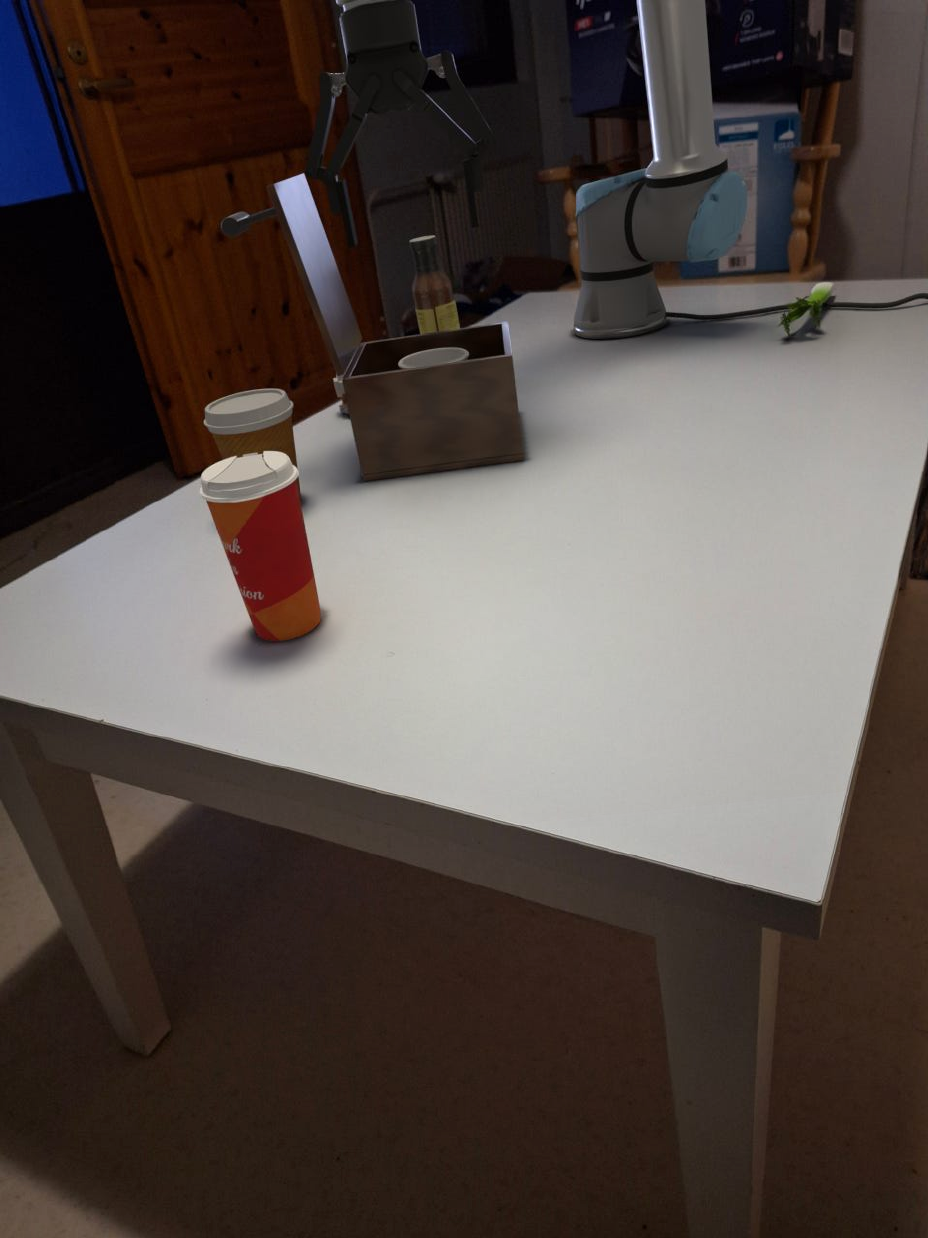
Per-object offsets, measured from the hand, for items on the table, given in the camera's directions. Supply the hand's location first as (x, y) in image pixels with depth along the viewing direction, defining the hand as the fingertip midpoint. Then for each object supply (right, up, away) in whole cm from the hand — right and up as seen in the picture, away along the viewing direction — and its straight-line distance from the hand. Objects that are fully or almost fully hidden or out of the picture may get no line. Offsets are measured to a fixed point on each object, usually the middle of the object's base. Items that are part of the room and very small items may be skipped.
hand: (414, 236), depth 98 cm
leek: (+59, +4, +40) cm, 71 cm away
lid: (-10, -3, +2) cm, 11 cm away
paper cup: (-9, -43, -23) cm, 49 cm away
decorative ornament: (-8, -12, +31) cm, 34 cm away
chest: (+3, -21, +11) cm, 24 cm away
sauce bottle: (+3, -3, +43) cm, 43 cm away
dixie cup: (+3, -20, +11) cm, 23 cm away
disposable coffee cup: (-16, -30, +2) cm, 34 cm away
